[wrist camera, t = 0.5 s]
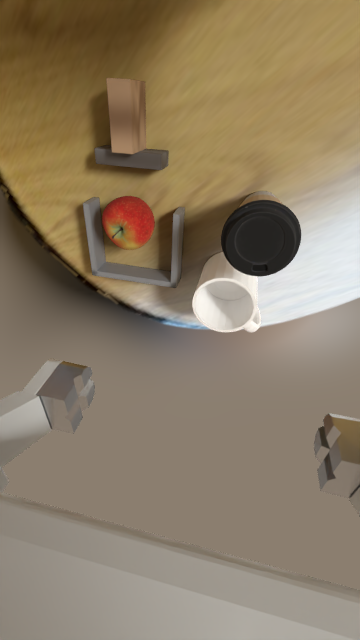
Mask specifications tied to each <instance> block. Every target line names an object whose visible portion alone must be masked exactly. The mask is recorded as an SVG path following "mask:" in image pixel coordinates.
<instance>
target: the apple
mask: <svg viewBox="0 0 360 640" xmlns="http://www.w3.org/2000/svg"><path fill="white" fill-rule="evenodd" d="M102 223H103V227H104V230H105V232H106V234H107V235H108V237H109V238H110V239H111V241H112V242H113V243H114V244H116V245H117V246H118V247H120V248H123V249H126V250H133V249H137V248H140V247H142V246H143V245H144V244H145V243H147V241H148V240H149V239H150V238H151V236H152V234H153V231H154V224H155V221H154V216H153V213H152V211H151V209H150V207H149V206H148V205H147V204H146V203H145V202H144V201H143V200H141V199H140V198H137V197H133V196H124V197H120V198H117V199H115V200H113V201H112V202H110V203H109V204H108V205H107V206H106V208H105V210H104V212H103V215H102Z"/></svg>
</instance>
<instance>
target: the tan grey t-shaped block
mask: <svg viewBox="0 0 360 640" xmlns="http://www.w3.org/2000/svg"><path fill="white" fill-rule="evenodd" d="M107 92H108V105H109V119H110V132H111V146H110V145H104V146H101V147H97V148H95V158H96V164H105V165H115V166H125V167H135V168H145V169H155V170H162V169H164V168H165V167H167V166H168V151H166V150H155V149H146V109H145V82H144V81H138V80H132V79H118V78H107Z"/></svg>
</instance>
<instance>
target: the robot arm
mask: <svg viewBox="0 0 360 640" xmlns="http://www.w3.org/2000/svg"><path fill="white" fill-rule="evenodd" d="M91 375H92V370H91V368H90V367H87V366H83V365H78V364H74V363H69V362H65V361H60V360H55V359H50V360H48V361H46V362H45V364H44V365H43V366H42V367H41V368H40V370H39V371H38V372H37V373H36V374H35V376H34V377H33V378H32V379H31V381H30V382H29V383H28V384H27V386H26V387H25V388H24V389H23V390H22V391H21V392H18V391H17V392H15V393H13V394H11V395H9V396H7V397H5V398H3V399H1V400H0V640H360V590H357V589H354V588H350V587H346V586H343V585H339V584H335V583H331V582H328V581H324V580H321V579H317V578H313V577H310V576H306V575H303V574H299V573H295V572H291V571H288V570H284V569H281V568H277V567H273V566H270V565H266V564H262V563H259V562H255V561H251V560H248V559H244V558H240V557H237V556H233V555H229V554H226V553H222V552H218V551H215V550H211V549H207V548H204V547H200V546H197V545H193V544H189V543H186V542H182V541H178V540H175V539H171V538H167V537H164V536H160V535H156V534H153V533H149V532H145V531H142V530H138V529H134V528H131V527H127V526H124V525H120V524H116V523H113V522H109V521H105V520H102V519H98V518H94V517H91V516H87V515H83V514H80V513H76V512H72V511H69V510H65V509H61V508H57V507H54V506H50V505H47V504H43V503H39V502H36V501H32V500H28V499H25V498H21V497H17V496H14V495H10V494H6V493H3V491H4V489H5V488H6V486H7V484H8V483H9V482H8V477H7V476H6V474H5V473H4V471H3V470H2V467H3V466H5V465H6V464H7V463H8V462H10V461H11V460H13V459H14V458H15V457H17V456H18V455H19V454H21V453H22V452H23V451H24V450H26V449H27V448H29V447H30V446H31V445H32V444H34V443H35V442H37V441H38V440H39V439H41V438H42V437H43V436H45V435H46V434H47V433H49V432H50V431H51V429H54V430H59V431H64V432H68V433H73V434H74V432H75V431H76V429H77V427H78V425H79V424H80V422H81V420H82V418H83V416H82V411H83V410H85V409H87V408H88V407H89V406H90V404H91V402H92V400H93V396H94V392H95V385H94V382H93V381H92V380H91V379H90V377H91ZM323 422H324V426H322V427H320V428H318V431H317V433H316V435H315V441H314V451H315V457H316V458H317V460H318V461H319V462H320V463H321V465H320V466H319V468H318V470H317V471H318V478H319V484H320V491H323V492H326V493H330V494H334V495H338V496H342V497H346V498H349V501H350V502H351V504H352V505H353V507H354V508H355V510H356V511H357V513H358V514H359V516H360V419H356V418H351V417H345V416H340V415H335V414H327V415H326V416H325V417H324V419H323Z"/></svg>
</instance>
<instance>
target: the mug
mask: <svg viewBox="0 0 360 640" xmlns="http://www.w3.org/2000/svg"><path fill="white" fill-rule="evenodd" d="M257 286H258V276H250V275H246V274H244V273H241V272H239V271H238V270H236V269H235V268H234V267H232V266H231V265H230V263H229V262H228V261H227V259H226V258H225V255H224V253H223V252H220V253H217V254H215V255H213V256H212V257H211V258H209V260H208V261H207V262H206V263H205V265H204V268H203V270H202V273H201V276H200V279H199V282H198V285H197V288H196V290H195V293H194V296H193V301H192V307H193V311H194V314H195V315H196V317H197V319H198V320H199V321H200V322H201V323H202V324H203V325H205V326H206V327H208V328H210V329H212V330H215V331H220V332H234V331H237V330H240V329H242V328H244V329H245V330H246V331H248V332H254V331H256V330H257V329H258V328H259V327H260V325H261V316H260V312H259V309H258V307H257Z"/></svg>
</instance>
